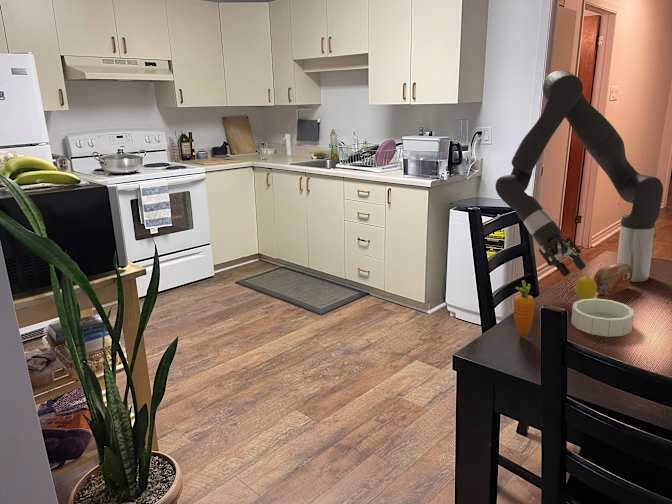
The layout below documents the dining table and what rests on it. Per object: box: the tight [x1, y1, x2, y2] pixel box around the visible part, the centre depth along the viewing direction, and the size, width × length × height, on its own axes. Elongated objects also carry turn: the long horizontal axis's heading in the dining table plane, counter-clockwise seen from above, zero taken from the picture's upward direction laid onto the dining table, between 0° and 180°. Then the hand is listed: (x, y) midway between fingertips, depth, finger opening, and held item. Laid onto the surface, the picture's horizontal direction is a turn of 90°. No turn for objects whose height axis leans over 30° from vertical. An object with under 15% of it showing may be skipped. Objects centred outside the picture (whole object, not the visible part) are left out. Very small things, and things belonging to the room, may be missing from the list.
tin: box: [593, 262, 632, 297], centre depth 154 cm, size 15×3×8 cm, turn 117°
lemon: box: [574, 275, 597, 300], centre depth 147 cm, size 6×6×8 cm
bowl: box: [570, 298, 635, 338], centre depth 133 cm, size 14×14×4 cm
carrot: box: [513, 280, 536, 339], centre depth 126 cm, size 5×5×15 cm
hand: (575, 271), depth 149 cm, fingers open, 8 cm apart
